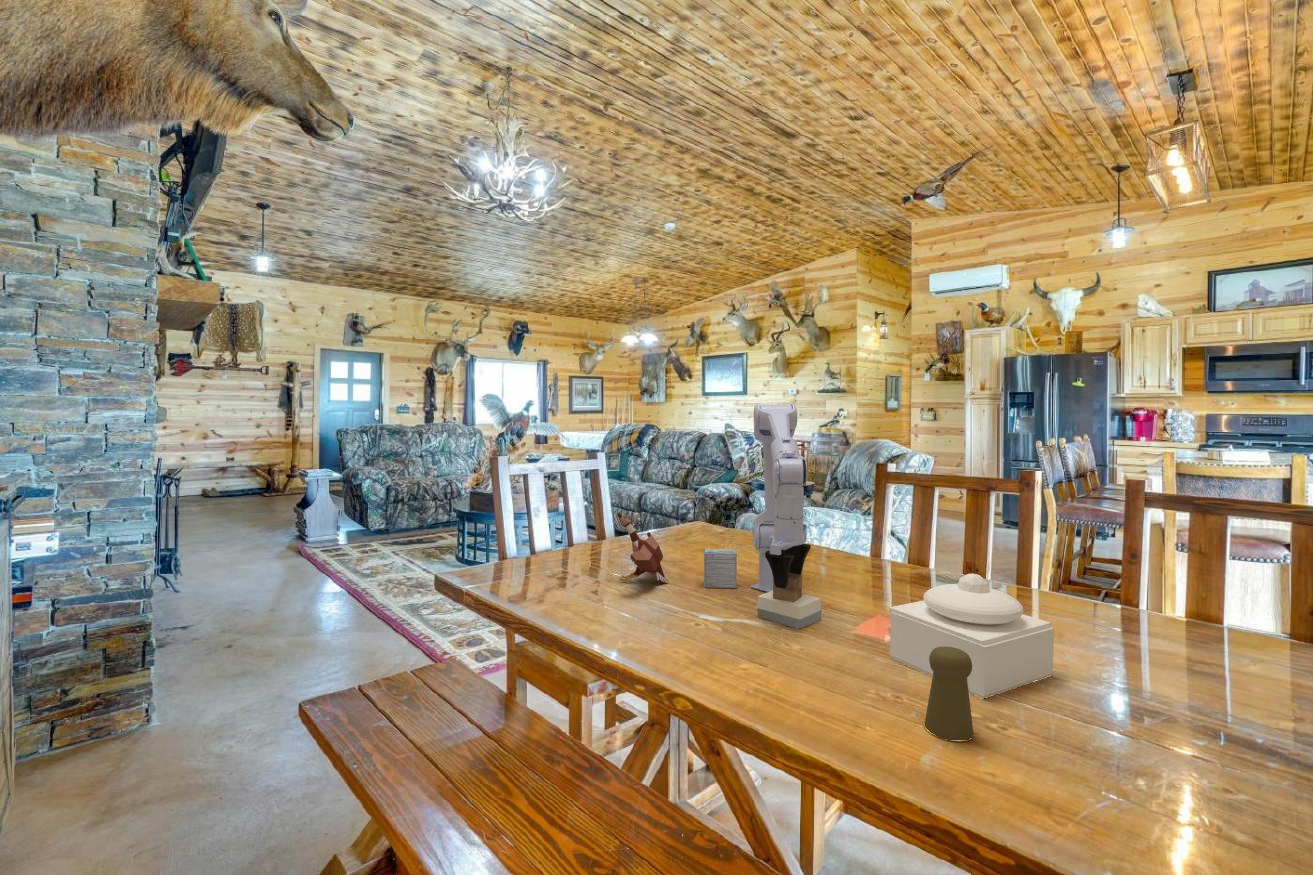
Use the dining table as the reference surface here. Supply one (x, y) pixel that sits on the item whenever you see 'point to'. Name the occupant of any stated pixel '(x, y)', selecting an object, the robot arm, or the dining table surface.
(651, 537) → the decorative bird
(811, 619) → the tower base block
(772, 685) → the dining table surface
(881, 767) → the dining table surface
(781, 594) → the walnut cube
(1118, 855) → the dining table surface
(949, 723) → the dark olive pawn
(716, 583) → the gray wood grain block
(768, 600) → the tower top block
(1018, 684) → the white saucer-topped box
